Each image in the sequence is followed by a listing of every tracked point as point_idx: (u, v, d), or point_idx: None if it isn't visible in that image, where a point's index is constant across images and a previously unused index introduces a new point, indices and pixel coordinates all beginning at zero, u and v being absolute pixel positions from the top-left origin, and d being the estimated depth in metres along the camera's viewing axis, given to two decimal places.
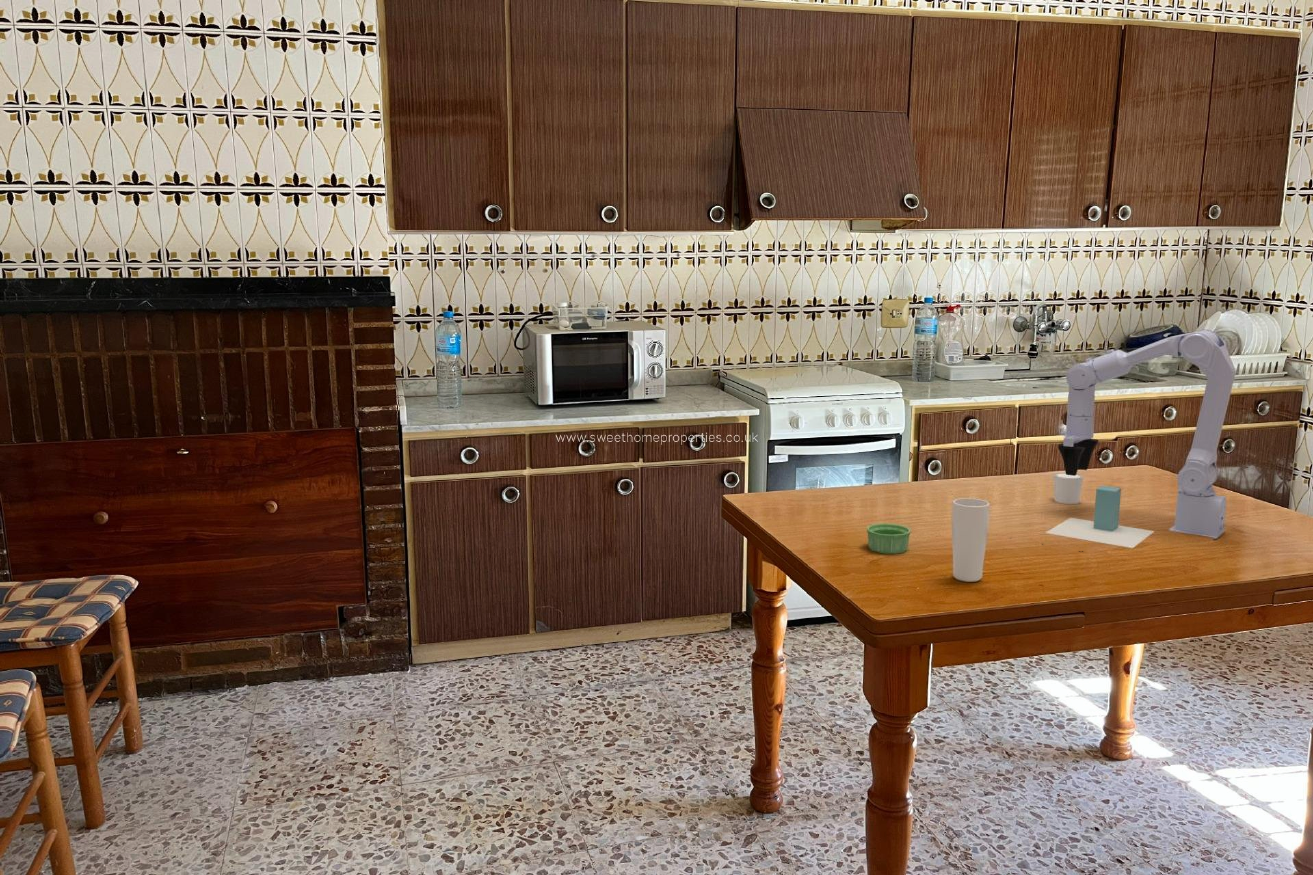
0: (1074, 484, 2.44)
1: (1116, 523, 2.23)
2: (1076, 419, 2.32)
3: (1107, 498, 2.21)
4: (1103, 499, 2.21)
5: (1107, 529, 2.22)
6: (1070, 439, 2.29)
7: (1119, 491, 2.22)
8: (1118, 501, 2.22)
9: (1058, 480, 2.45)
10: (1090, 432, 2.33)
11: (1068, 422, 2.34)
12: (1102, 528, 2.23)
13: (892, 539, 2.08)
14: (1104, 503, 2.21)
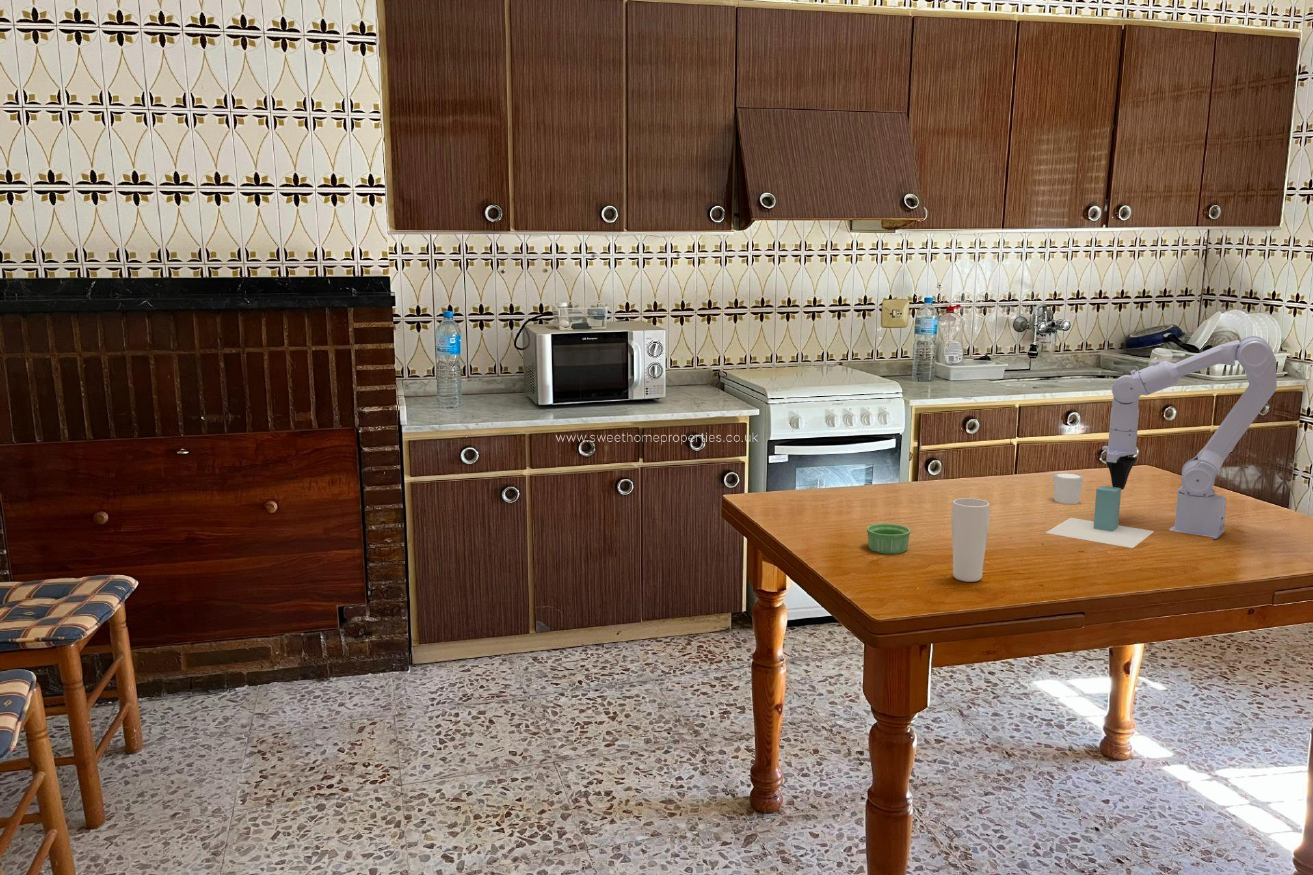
0: (1074, 484, 2.44)
1: (1116, 523, 2.23)
2: (1119, 433, 2.24)
3: (1107, 498, 2.21)
4: (1103, 499, 2.21)
5: (1107, 529, 2.22)
6: (1113, 455, 2.21)
7: (1119, 491, 2.22)
8: (1118, 501, 2.22)
9: (1058, 480, 2.45)
10: (1134, 447, 2.24)
11: (1111, 437, 2.26)
12: (1102, 528, 2.23)
13: (892, 539, 2.08)
14: (1104, 503, 2.21)
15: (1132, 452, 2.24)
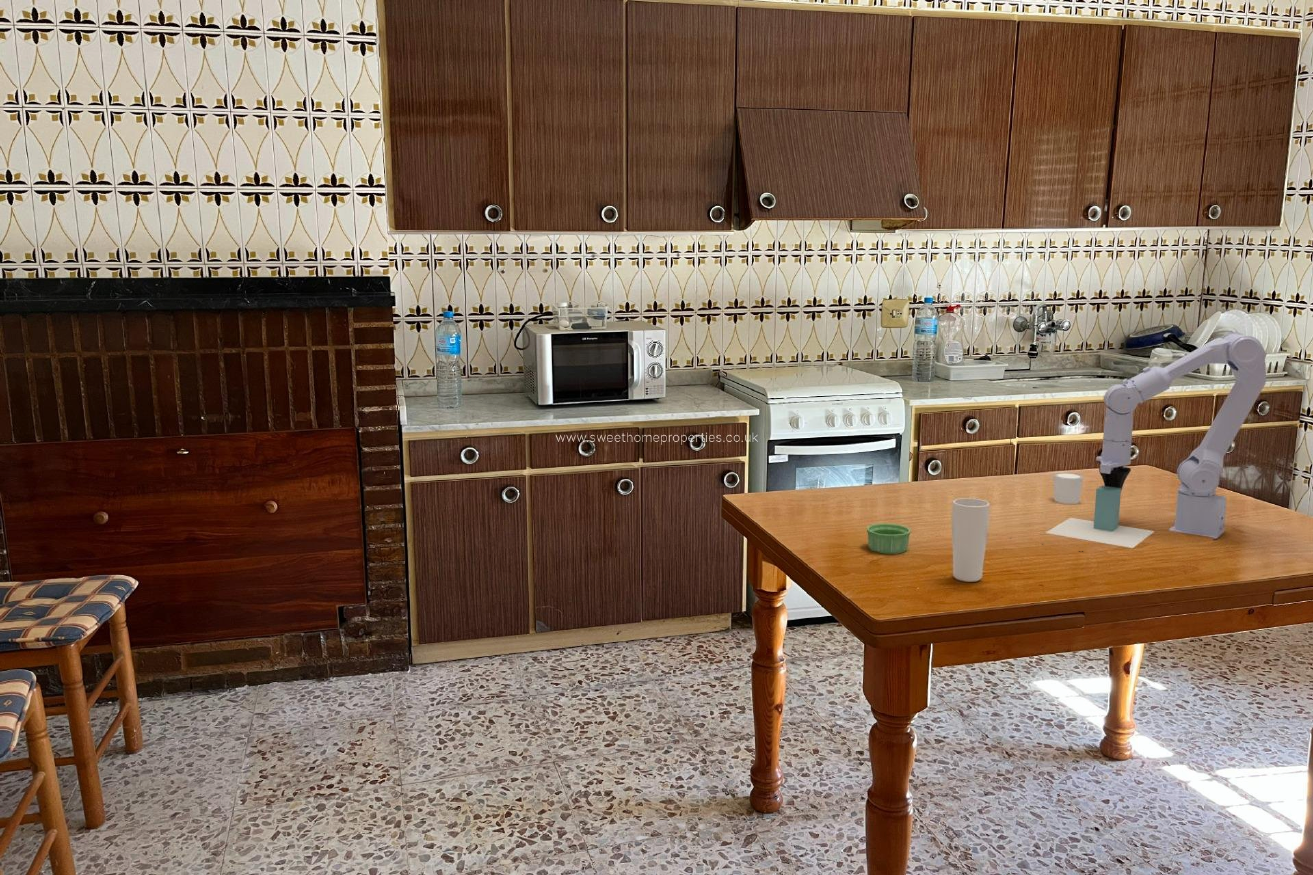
0: (1074, 484, 2.44)
1: (1116, 523, 2.23)
2: (1113, 444, 2.21)
3: (1107, 498, 2.21)
4: (1103, 499, 2.21)
5: (1107, 529, 2.22)
6: (1107, 466, 2.18)
7: (1119, 491, 2.22)
8: (1118, 501, 2.22)
9: (1058, 480, 2.45)
10: (1128, 458, 2.21)
11: (1104, 447, 2.23)
12: (1102, 528, 2.23)
13: (892, 539, 2.08)
14: (1104, 503, 2.21)
15: (1126, 463, 2.21)
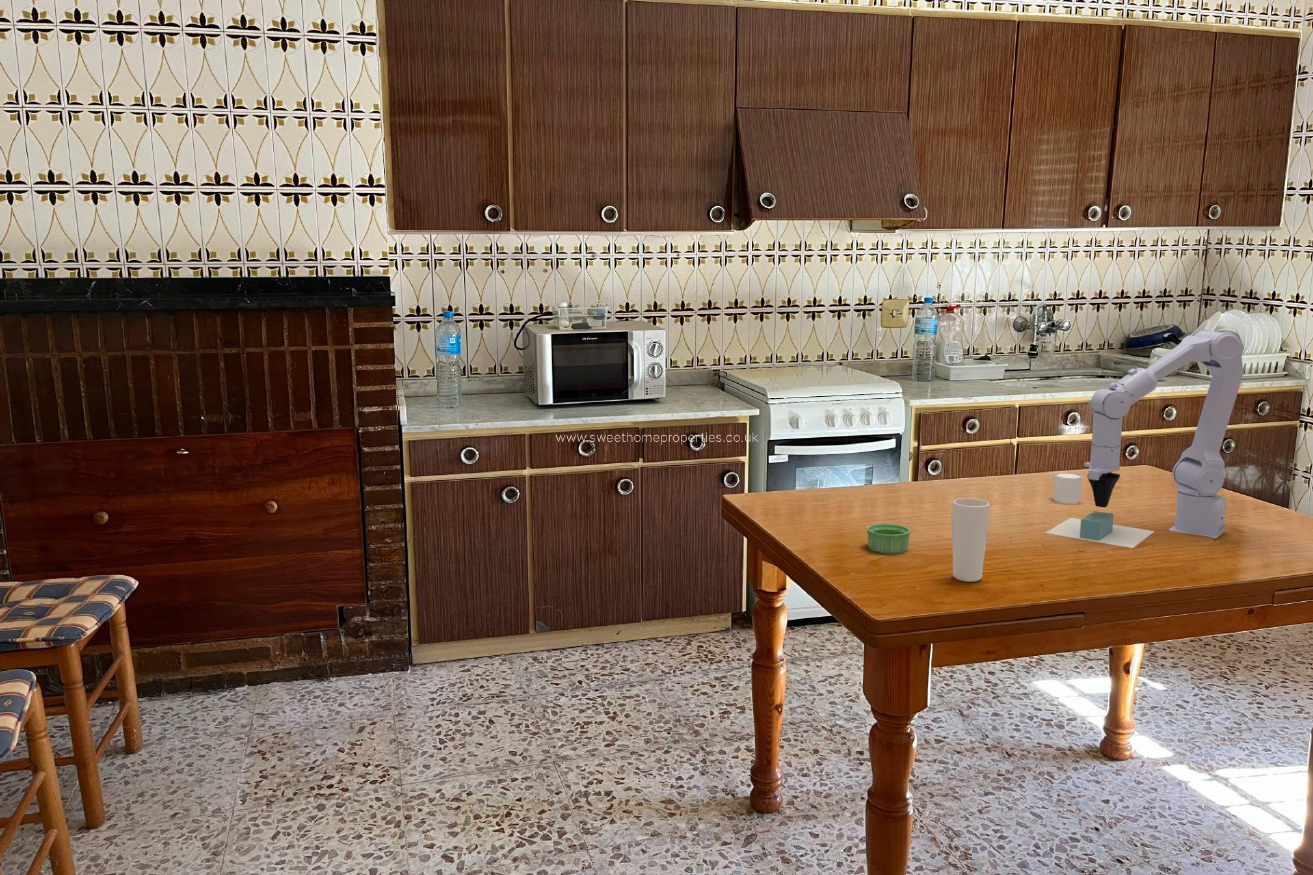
0: (1074, 484, 2.44)
1: (1111, 521, 2.20)
2: (1101, 450, 2.15)
3: None
4: None
5: None
6: (1095, 472, 2.12)
7: (1100, 526, 2.14)
8: (1104, 525, 2.16)
9: (1058, 480, 2.45)
10: (1117, 464, 2.16)
11: (1093, 453, 2.17)
12: None
13: (892, 539, 2.08)
14: None
15: (1115, 469, 2.15)
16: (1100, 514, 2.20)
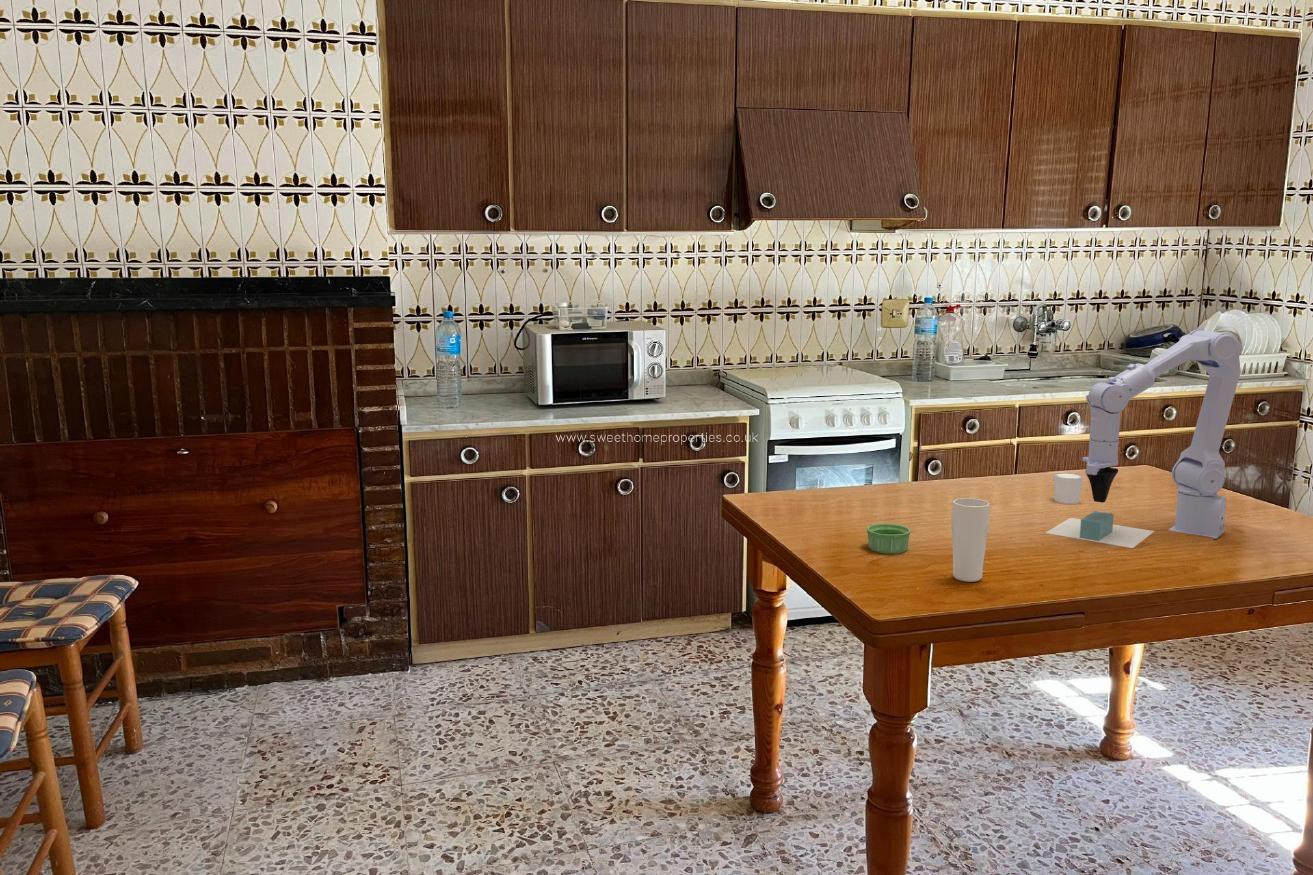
0: (1074, 484, 2.44)
1: (1111, 521, 2.20)
2: (1099, 444, 2.14)
3: None
4: None
5: None
6: (1093, 467, 2.11)
7: (1100, 526, 2.14)
8: (1104, 525, 2.16)
9: (1058, 480, 2.45)
10: (1115, 458, 2.14)
11: (1091, 447, 2.16)
12: None
13: (892, 539, 2.08)
14: None
15: (1113, 463, 2.14)
16: (1100, 514, 2.20)
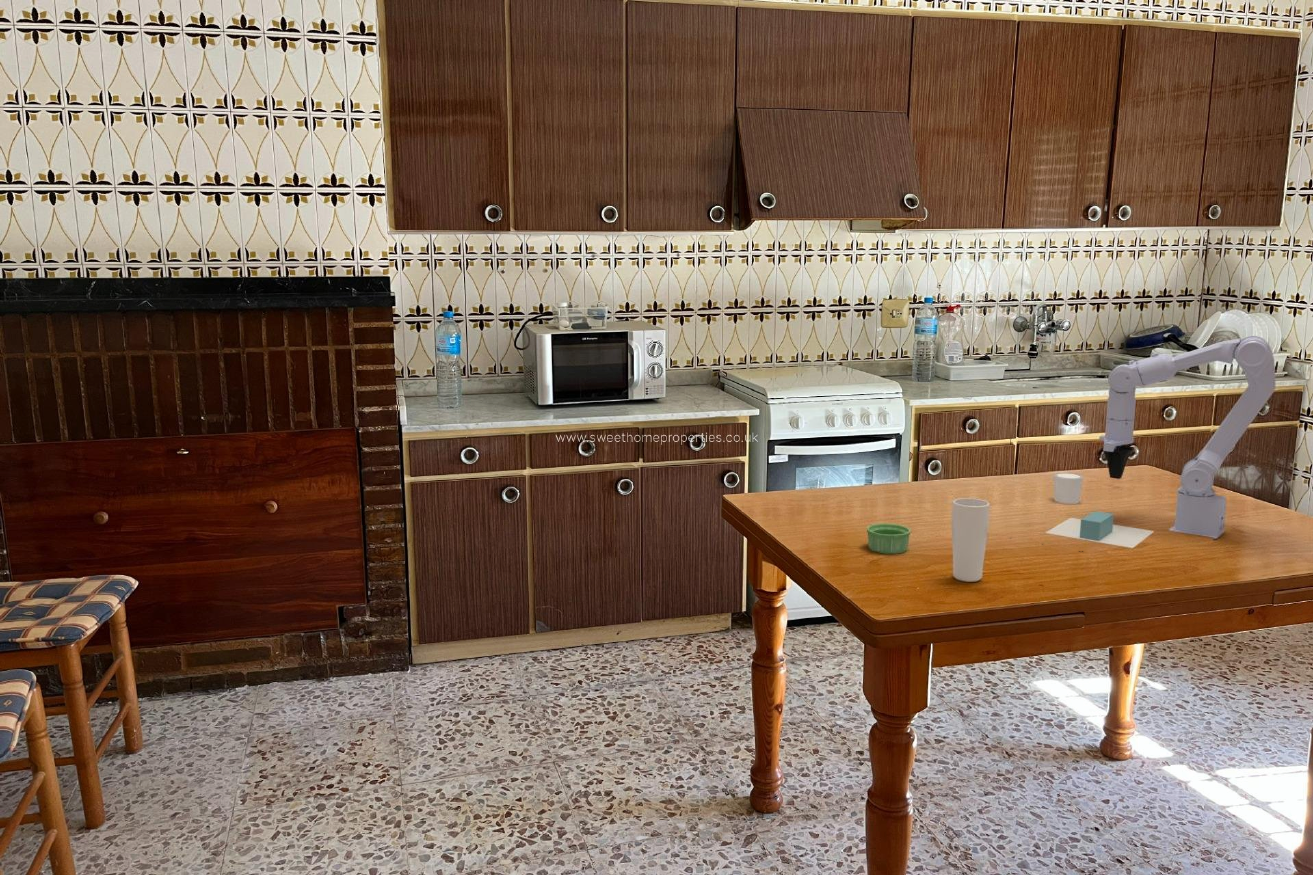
0: (1074, 484, 2.44)
1: (1111, 521, 2.20)
2: (1116, 423, 2.24)
3: None
4: None
5: None
6: (1110, 444, 2.21)
7: (1100, 526, 2.14)
8: (1104, 525, 2.16)
9: (1058, 480, 2.45)
10: (1131, 437, 2.25)
11: (1108, 426, 2.26)
12: None
13: (892, 539, 2.08)
14: None
15: (1129, 441, 2.24)
16: (1100, 514, 2.20)
